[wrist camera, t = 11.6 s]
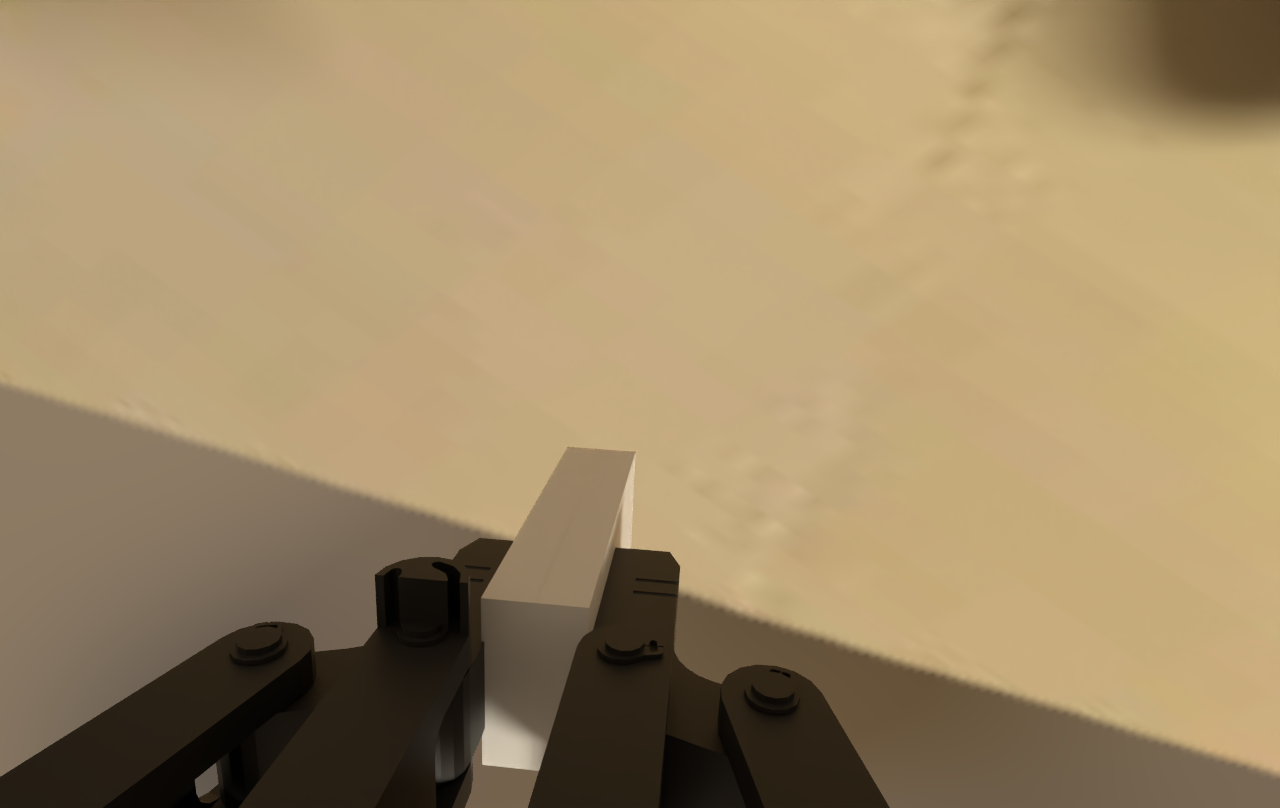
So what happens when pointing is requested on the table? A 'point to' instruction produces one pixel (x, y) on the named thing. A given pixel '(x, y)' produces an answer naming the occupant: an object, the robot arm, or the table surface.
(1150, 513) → the table surface
